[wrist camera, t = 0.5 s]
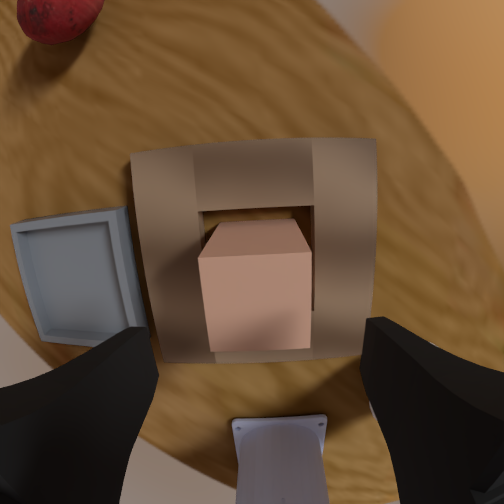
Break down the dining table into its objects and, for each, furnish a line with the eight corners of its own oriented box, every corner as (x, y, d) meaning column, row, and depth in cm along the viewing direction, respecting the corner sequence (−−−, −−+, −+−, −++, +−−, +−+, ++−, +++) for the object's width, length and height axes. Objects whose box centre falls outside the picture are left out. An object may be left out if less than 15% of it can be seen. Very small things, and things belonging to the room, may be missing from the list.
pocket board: (359, 342, 21) (365, 354, 20) (169, 350, 22) (164, 362, 21) (367, 139, 17) (376, 138, 16) (139, 153, 18) (130, 153, 17)
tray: (150, 336, 22) (143, 350, 20) (52, 330, 22) (41, 341, 20) (127, 205, 19) (115, 210, 17) (24, 219, 19) (9, 224, 18)
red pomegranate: (114, 48, 16) (46, 8, 8) (49, 60, 16) (-24, 38, 8) (130, -19, 14) (80, -74, 7) (66, -3, 14) (6, -40, 7)
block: (295, 287, 20) (310, 347, 14) (226, 290, 20) (210, 351, 14) (294, 218, 19) (311, 252, 12) (220, 222, 19) (197, 257, 13)
